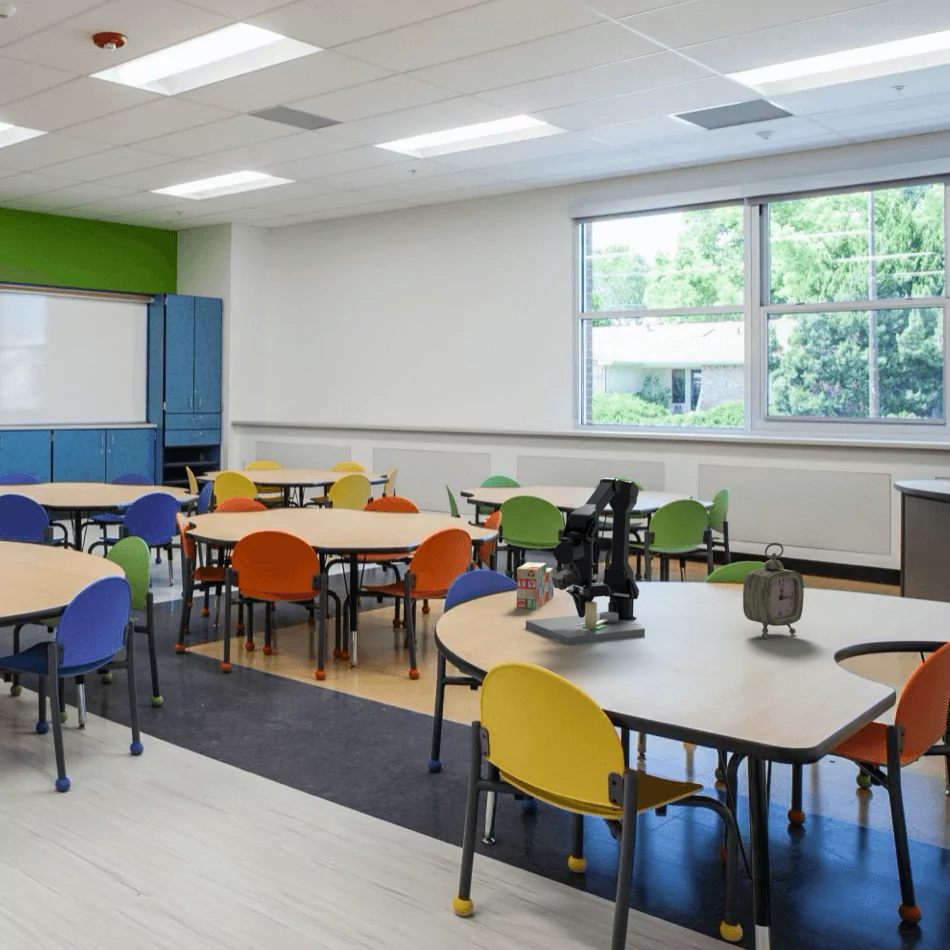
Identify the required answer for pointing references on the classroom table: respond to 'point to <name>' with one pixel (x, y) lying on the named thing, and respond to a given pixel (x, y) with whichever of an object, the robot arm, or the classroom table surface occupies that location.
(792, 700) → the classroom table surface
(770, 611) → the tabletop clock
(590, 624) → the beige and grey mallet
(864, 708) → the classroom table surface
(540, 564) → the stack of blocks
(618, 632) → the gauge plate
